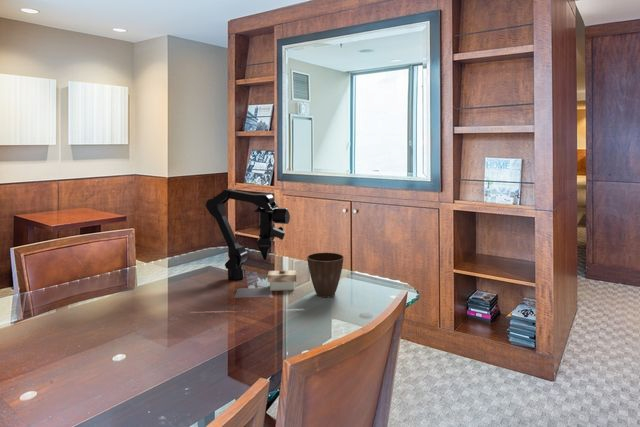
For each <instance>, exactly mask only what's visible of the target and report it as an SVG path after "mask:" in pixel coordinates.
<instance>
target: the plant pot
mask: <svg viewBox="0 0 640 427" xmlns="http://www.w3.org/2000/svg"><path fill="white" fill-rule="evenodd" d="M306 260H307V265H308V271H309V275H310V279H311V284H312V285H313V289H314V292H315V293H316V296H317V297H319V298H331V297H334V296H335V295H336V293H337V292H336V291H337V289H338V286H339V283H340V280H341V279H340V278H341V275H342V272H343V271H342V270H343V264H344V255H342V254H340V253H335V252H317V253H311V254H308V255H307V256H306Z"/></svg>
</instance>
